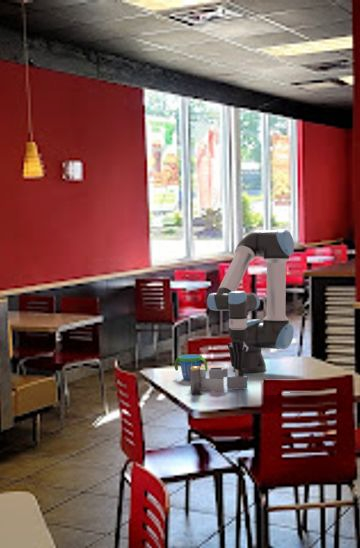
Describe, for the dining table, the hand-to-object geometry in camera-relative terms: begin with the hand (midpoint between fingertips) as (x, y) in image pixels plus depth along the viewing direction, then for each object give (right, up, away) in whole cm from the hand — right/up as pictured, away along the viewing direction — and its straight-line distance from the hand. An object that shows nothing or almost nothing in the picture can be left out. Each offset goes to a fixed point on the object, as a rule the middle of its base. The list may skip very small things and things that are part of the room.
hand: (239, 384), depth 346 cm
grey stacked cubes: (-5, -1, -2) cm, 5 cm away
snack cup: (-20, -1, +23) cm, 30 cm away
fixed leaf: (-13, -2, -2) cm, 13 cm away
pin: (-18, -3, -9) cm, 21 cm away
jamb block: (-17, -2, +2) cm, 17 cm away
